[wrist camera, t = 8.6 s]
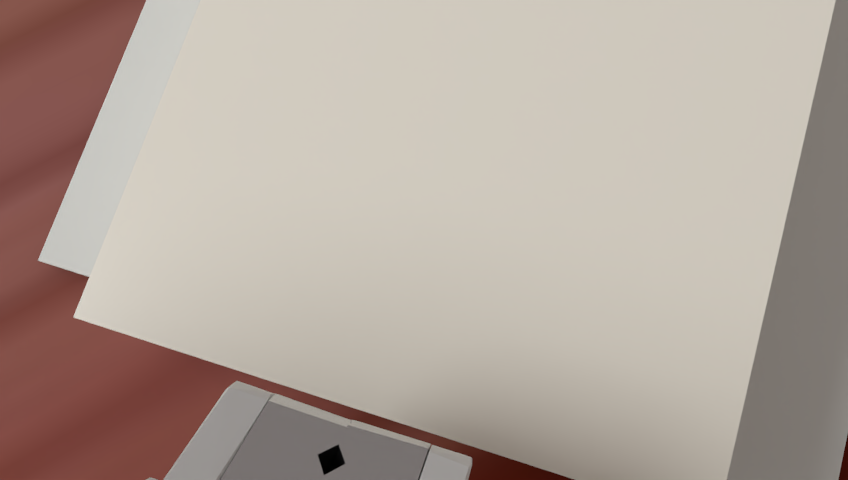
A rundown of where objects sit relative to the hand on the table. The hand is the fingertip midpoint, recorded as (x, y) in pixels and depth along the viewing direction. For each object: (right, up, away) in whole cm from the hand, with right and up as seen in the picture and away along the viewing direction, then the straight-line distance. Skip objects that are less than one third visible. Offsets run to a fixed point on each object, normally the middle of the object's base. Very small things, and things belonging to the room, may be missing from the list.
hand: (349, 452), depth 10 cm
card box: (0, 0, +4) cm, 4 cm away
